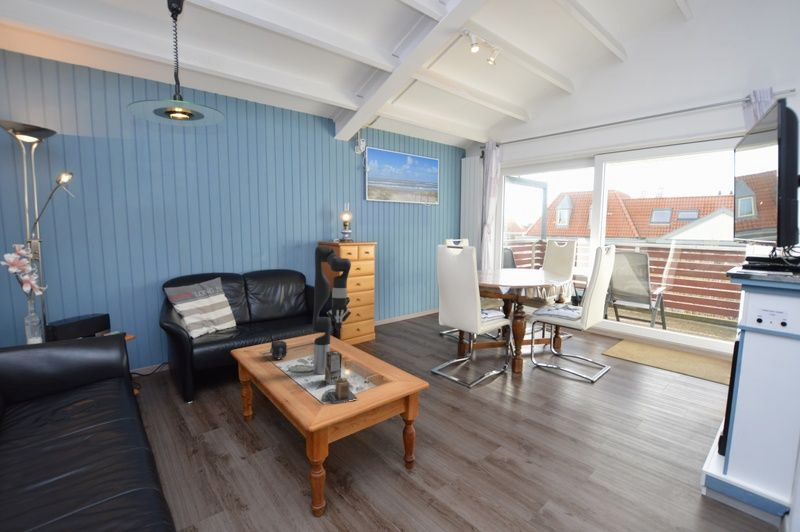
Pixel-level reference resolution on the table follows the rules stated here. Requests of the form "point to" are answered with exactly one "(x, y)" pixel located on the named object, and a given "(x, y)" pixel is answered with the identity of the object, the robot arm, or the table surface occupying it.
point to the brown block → (342, 388)
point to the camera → (278, 349)
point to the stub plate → (335, 399)
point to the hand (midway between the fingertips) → (338, 329)
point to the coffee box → (332, 366)
